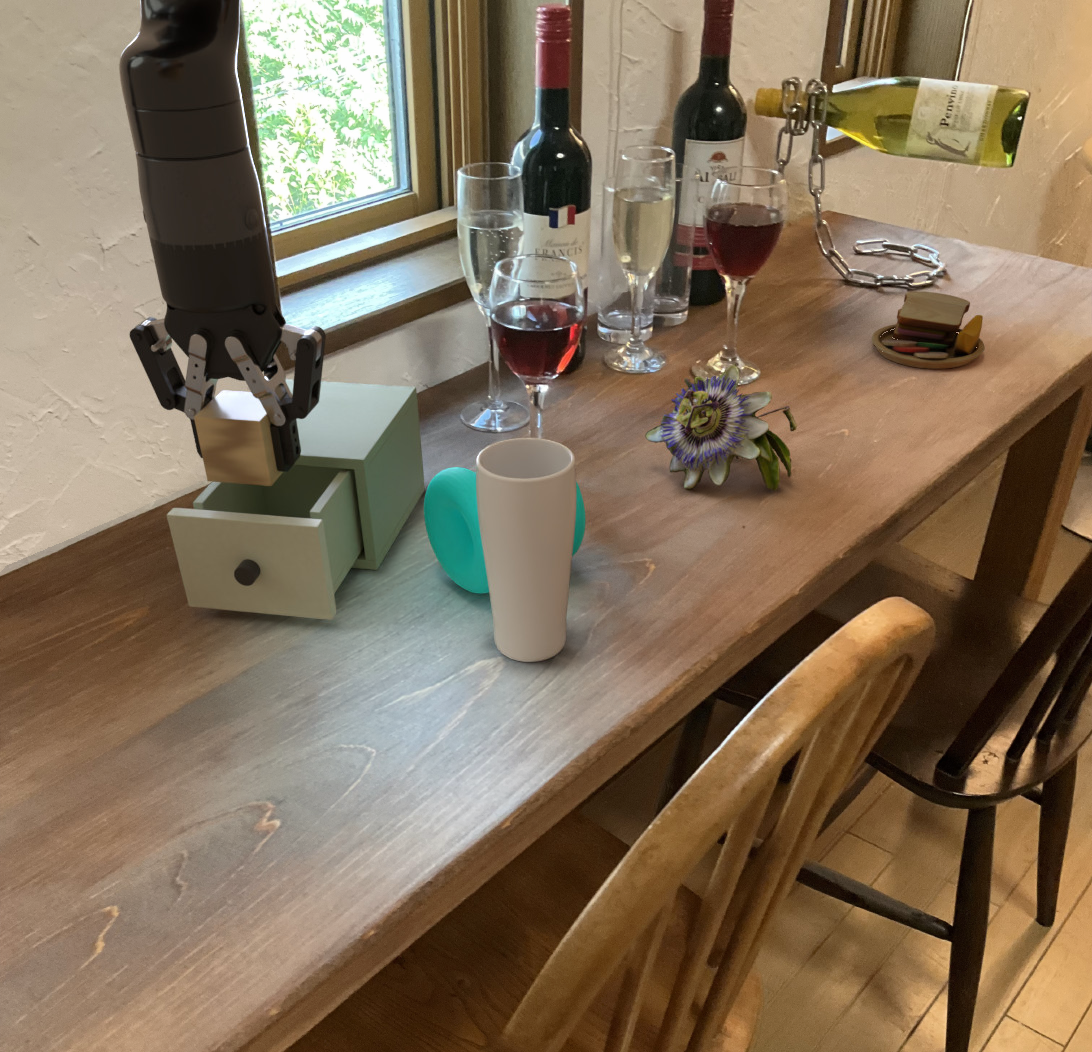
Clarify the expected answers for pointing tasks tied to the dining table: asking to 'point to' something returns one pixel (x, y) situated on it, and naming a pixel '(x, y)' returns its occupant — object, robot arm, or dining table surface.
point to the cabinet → (369, 454)
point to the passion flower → (721, 431)
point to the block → (236, 440)
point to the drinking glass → (527, 542)
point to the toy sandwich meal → (931, 333)
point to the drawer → (270, 543)
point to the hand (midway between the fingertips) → (251, 463)
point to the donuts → (467, 527)
